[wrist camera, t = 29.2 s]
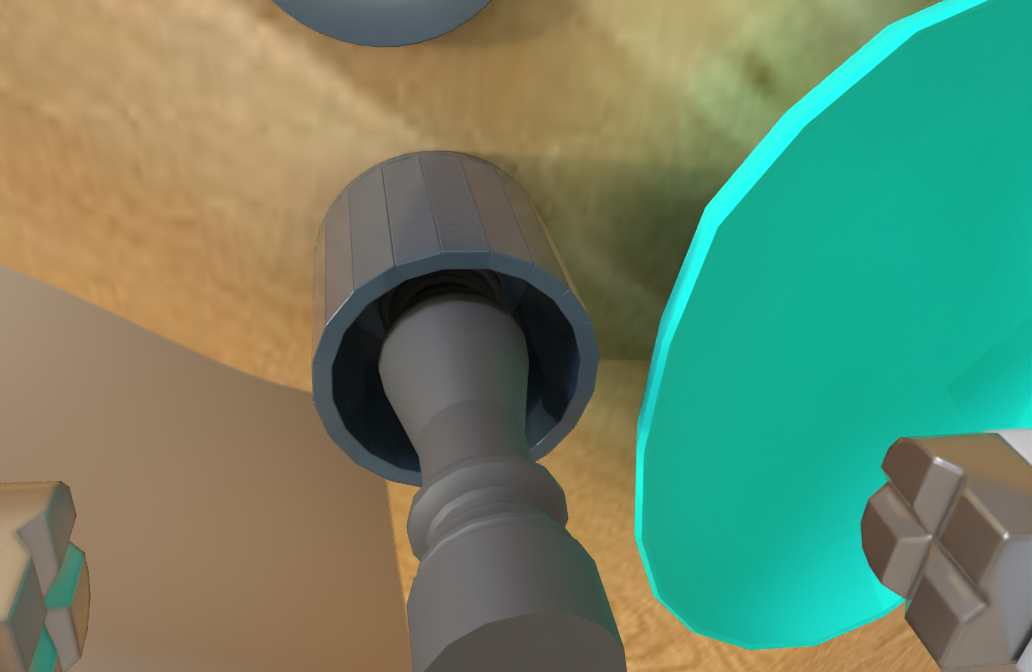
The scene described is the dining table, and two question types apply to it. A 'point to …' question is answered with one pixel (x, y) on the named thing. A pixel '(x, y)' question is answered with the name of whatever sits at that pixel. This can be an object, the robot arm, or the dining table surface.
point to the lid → (382, 19)
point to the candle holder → (484, 493)
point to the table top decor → (840, 326)
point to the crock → (426, 249)
